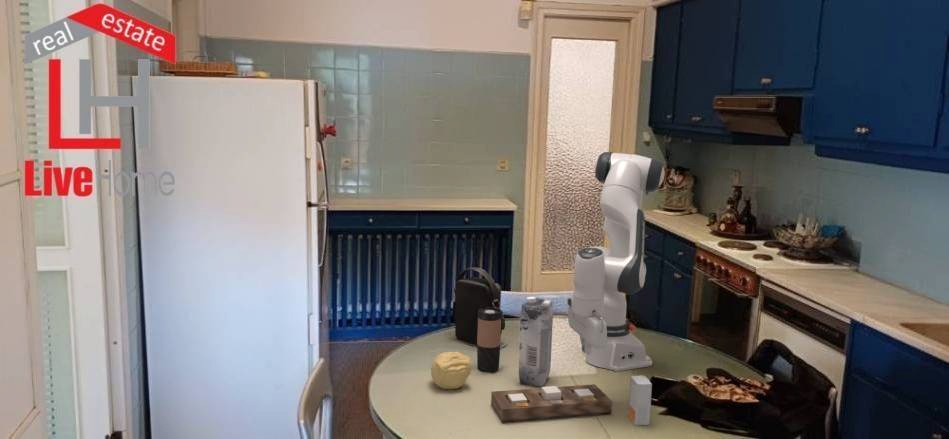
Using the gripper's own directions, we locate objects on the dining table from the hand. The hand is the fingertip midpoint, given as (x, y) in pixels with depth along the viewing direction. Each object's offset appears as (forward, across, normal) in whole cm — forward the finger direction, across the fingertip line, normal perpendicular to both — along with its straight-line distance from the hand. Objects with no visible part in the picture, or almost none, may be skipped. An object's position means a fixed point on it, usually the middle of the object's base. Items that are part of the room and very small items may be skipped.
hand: (586, 352), depth 194 cm
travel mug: (+16, +33, +20) cm, 42 cm away
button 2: (+15, 0, 0) cm, 15 cm away
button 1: (+14, 0, +20) cm, 25 cm away
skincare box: (+17, -11, -12) cm, 23 cm away
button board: (+16, 0, +10) cm, 19 cm away
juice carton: (+16, +21, +8) cm, 28 cm away
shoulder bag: (+17, +60, +18) cm, 65 cm away
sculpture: (+16, +22, +35) cm, 45 cm away
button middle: (+13, 0, +10) cm, 17 cm away
